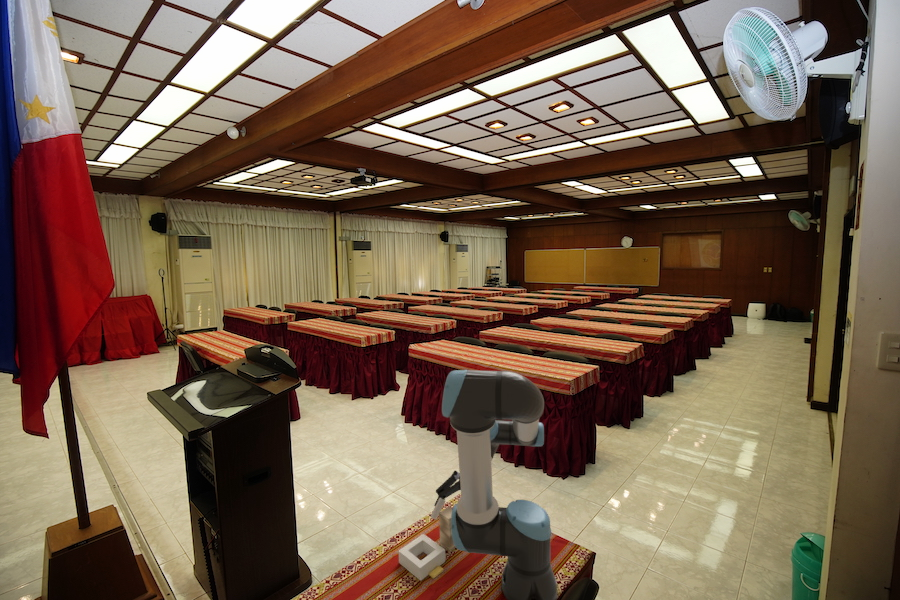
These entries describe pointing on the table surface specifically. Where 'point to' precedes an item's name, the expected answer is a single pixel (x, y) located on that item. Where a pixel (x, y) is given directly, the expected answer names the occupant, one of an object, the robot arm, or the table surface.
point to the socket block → (426, 565)
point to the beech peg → (446, 529)
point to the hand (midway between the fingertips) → (447, 528)
